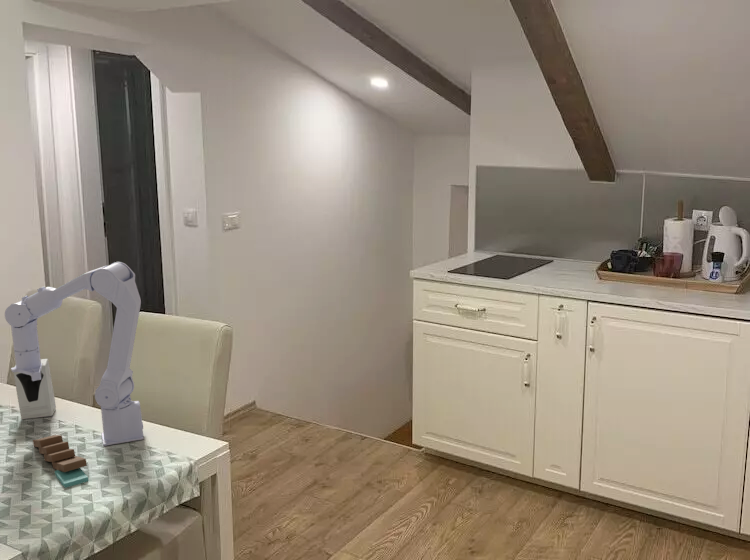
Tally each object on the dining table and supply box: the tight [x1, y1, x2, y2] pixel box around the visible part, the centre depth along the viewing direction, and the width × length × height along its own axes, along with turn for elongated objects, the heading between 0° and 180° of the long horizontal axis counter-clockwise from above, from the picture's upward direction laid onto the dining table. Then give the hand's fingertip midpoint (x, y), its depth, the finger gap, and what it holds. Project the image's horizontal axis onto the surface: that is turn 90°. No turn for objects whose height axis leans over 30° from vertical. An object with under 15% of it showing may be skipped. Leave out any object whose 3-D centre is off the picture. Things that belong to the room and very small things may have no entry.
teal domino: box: [54, 467, 89, 489], centre depth 171 cm, size 2×5×8 cm
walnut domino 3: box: [43, 448, 76, 463], centre depth 178 cm, size 2×5×8 cm
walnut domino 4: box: [51, 455, 88, 472], centre depth 174 cm, size 2×5×8 cm
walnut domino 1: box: [32, 434, 64, 448], centre depth 186 cm, size 2×5×8 cm
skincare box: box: [12, 358, 57, 420], centre depth 207 cm, size 8×6×15 cm
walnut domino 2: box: [37, 441, 70, 455], centre depth 182 cm, size 2×5×8 cm
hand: (32, 400), depth 192 cm, fingers closed
